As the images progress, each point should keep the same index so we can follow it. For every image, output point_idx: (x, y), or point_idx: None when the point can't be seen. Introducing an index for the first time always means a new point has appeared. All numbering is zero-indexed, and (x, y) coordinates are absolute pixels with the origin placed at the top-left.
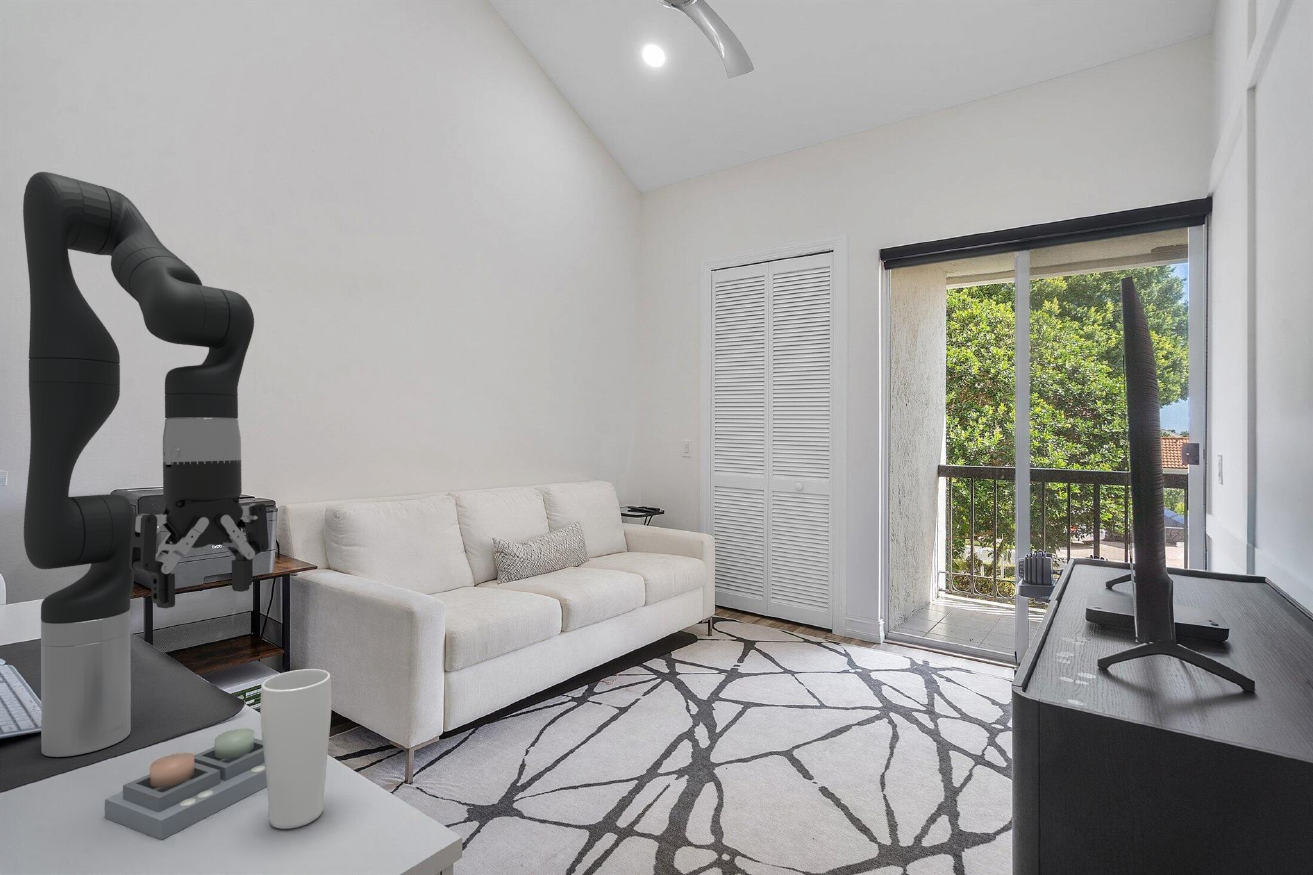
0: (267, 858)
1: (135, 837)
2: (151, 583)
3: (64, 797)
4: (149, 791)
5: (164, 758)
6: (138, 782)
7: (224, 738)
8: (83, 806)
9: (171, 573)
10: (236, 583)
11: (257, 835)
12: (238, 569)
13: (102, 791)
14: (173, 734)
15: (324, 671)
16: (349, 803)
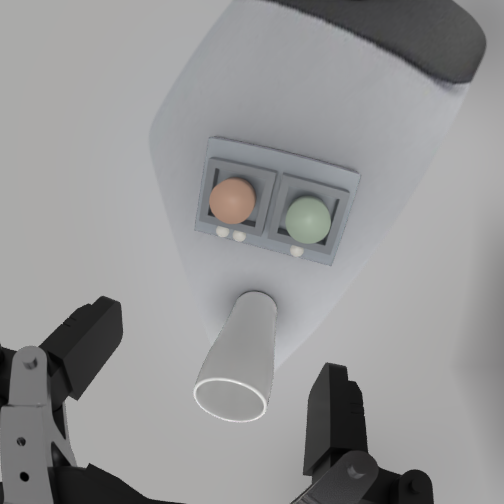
0: (206, 316)
1: (197, 197)
2: (51, 335)
3: (237, 56)
4: (205, 199)
5: (234, 186)
6: (218, 168)
7: (298, 215)
8: (226, 93)
9: (73, 392)
10: (321, 390)
11: (227, 293)
12: (315, 436)
13: (256, 81)
14: (394, 43)
15: (260, 414)
16: (284, 332)
